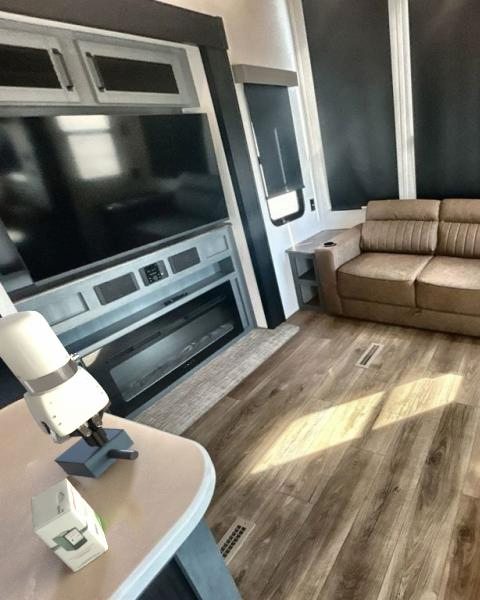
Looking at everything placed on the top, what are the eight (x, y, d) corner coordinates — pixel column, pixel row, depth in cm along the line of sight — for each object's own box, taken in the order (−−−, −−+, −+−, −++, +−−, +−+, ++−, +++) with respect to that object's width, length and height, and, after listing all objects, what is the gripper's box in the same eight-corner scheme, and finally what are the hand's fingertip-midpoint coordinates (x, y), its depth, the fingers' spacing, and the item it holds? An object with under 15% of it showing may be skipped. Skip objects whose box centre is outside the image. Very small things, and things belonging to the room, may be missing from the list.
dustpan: (107, 466, 70) (120, 481, 71) (146, 430, 77) (157, 444, 79) (53, 460, 75) (67, 474, 77) (94, 427, 82) (105, 441, 84)
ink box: (67, 538, 64) (28, 496, 59) (101, 516, 67) (66, 475, 62) (73, 574, 59) (30, 532, 53) (109, 549, 61) (72, 507, 56)
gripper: (76, 349, 74) (119, 415, 83) (-11, 402, 62) (50, 472, 70) (103, 352, 72) (144, 418, 81) (18, 406, 60) (77, 478, 68)
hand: (100, 443), depth 76 cm, fingers closed
